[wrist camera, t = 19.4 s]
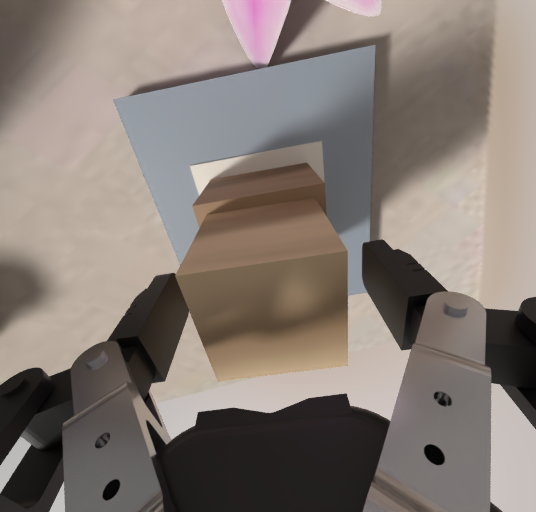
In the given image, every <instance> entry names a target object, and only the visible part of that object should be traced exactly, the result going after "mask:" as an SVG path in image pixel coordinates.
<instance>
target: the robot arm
mask: <svg viewBox="0 0 536 512" xmlns="http://www.w3.org/2000/svg"><path fill="white" fill-rule="evenodd" d="M175 275H176V274H175V273H170V274H164V275H158V276H155V278H154V279H153V281H152V282H151V284H150V285H149V287H148V289H145V290H144V291H143V292H141V293H140V294H139V295H138V296H137V297H136V298H135V299H134V301H133V302H132V304H131V306H130V308H129V309H128V310H127V312H126V313H125V316H123V318H122V319H121V321H120V322H119V324H118V325H117V327H116V328H115V330H114V331H113V333H112V334H111V336H110V337H109V339H108V340H107V341H105V342H101V343H99V344H96V345H94V346H92V347H91V348H89V349H88V350H86V351H85V352H84V353H82V354H81V355H80V356H79V357H78V358H77V359H76V360H75V362H74V363H73V365H72V367H71V369H68V370H65V371H63V372H60V373H58V374H55V375H52V376H50V377H49V376H48V375H47V374H46V373H45V372H44V371H43V370H42V369H41V368H31V369H27V370H24V371H22V372H20V373H18V374H16V375H14V376H13V377H11V378H10V379H8V380H7V381H5V382H4V383H3V384H2V385H0V465H1V464H2V462H3V461H4V459H5V458H6V456H7V455H8V453H9V452H10V450H11V449H12V447H13V446H14V445H15V443H16V442H17V440H18V439H19V437H20V436H21V437H23V438H24V439H25V440H26V441H28V442H29V443H30V444H32V445H31V446H30V448H29V449H28V451H27V453H26V454H25V456H24V457H23V459H22V460H21V462H20V464H19V465H18V467H17V468H16V470H15V471H14V473H13V474H12V476H11V478H10V479H9V481H8V482H7V484H6V486H5V487H4V489H3V490H2V492H1V493H0V512H49V511H50V508H51V506H52V504H53V502H54V500H55V498H56V496H57V494H58V492H59V490H60V488H61V486H62V484H63V482H64V491H65V512H502V511H501V510H500V509H499V508H497V507H496V506H495V505H494V504H492V503H491V502H490V463H491V462H490V460H491V458H490V456H491V383H495V384H500V385H501V386H502V387H503V389H504V390H505V391H506V392H507V394H508V395H509V396H510V397H511V398H512V400H513V401H514V402H515V404H516V405H517V406H518V407H519V409H520V410H521V411H522V412H523V414H524V415H525V416H526V417H527V419H528V420H529V421H530V423H531V424H532V425H533V426H534V428H535V429H536V297H533V298H528V299H526V300H524V301H523V302H522V303H521V306H520V308H519V311H509V310H495V309H485V308H484V307H483V306H482V305H481V304H480V303H479V302H478V301H477V300H475V299H473V298H471V297H469V296H467V295H464V294H461V293H456V292H448V291H447V290H446V289H445V288H444V287H443V286H442V285H441V284H440V283H439V282H438V281H437V280H436V279H435V278H434V277H433V276H432V275H431V274H430V273H429V272H428V271H427V270H424V268H423V267H422V266H421V265H420V264H418V262H417V261H416V260H415V259H414V258H413V257H412V256H411V255H410V254H408V253H406V252H403V251H401V250H399V249H396V250H393V249H392V248H391V247H390V246H389V245H388V244H387V243H386V242H385V241H384V240H376V241H370V242H364V243H363V245H362V280H363V284H364V287H365V289H366V290H367V292H368V294H369V296H370V297H371V299H372V301H373V302H374V304H375V306H376V308H377V309H378V311H379V313H380V314H381V316H382V318H383V320H384V321H385V323H386V325H387V326H388V328H389V330H390V331H391V333H392V335H393V337H394V338H395V340H396V342H397V343H398V345H399V347H400V349H401V350H408V349H411V352H410V356H409V359H408V363H407V366H406V369H405V373H404V376H403V380H402V384H401V387H400V391H399V394H398V397H397V401H396V404H395V408H394V411H393V415H392V419H391V421H389V420H388V419H386V418H384V417H382V416H380V415H379V414H377V413H374V412H371V411H369V410H366V409H362V408H359V407H354V406H350V404H349V400H348V397H347V394H339V395H331V396H323V397H315V398H308V399H306V400H303V401H301V402H299V403H296V404H294V405H291V406H289V407H286V408H284V409H282V410H279V411H276V412H274V413H263V412H258V411H250V410H244V409H238V408H228V409H220V410H212V411H204V412H198V415H197V420H196V425H195V426H194V427H191V428H190V429H188V430H186V431H184V432H182V433H181V434H179V435H178V436H177V437H175V438H174V439H173V440H171V438H170V436H169V434H168V432H167V430H166V427H165V425H164V422H163V420H162V418H161V415H160V413H159V410H158V408H157V406H156V403H155V401H154V398H153V396H152V394H151V392H150V391H149V389H150V387H151V384H152V383H156V382H163V381H165V380H166V377H167V374H168V371H169V368H170V365H171V363H172V360H173V357H174V354H175V351H176V348H177V346H178V343H179V340H180V337H181V334H182V331H183V328H184V326H185V323H186V320H187V317H188V314H189V309H188V306H187V304H186V302H185V299H184V297H183V294H182V292H181V289H180V287H179V284H178V282H177V279H176V277H175Z"/></svg>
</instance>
